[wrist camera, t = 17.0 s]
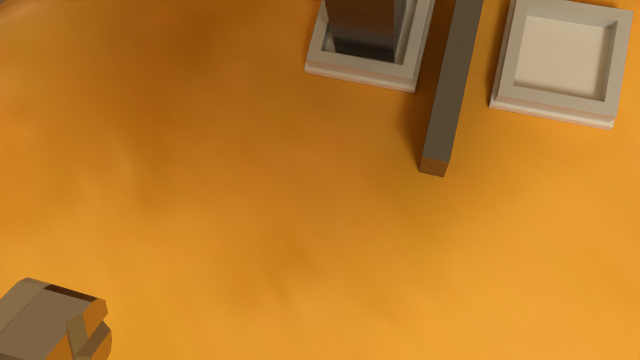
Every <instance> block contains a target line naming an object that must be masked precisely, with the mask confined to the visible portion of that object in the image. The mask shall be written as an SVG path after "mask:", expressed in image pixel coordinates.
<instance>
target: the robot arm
mask: <svg viewBox="0 0 640 360" xmlns="http://www.w3.org/2000/svg"><path fill="white" fill-rule="evenodd" d="M107 314H108V311H107V306H106V302H105V300H103V299H100V298H96V297H93V296H90V295H86V294H83V293H80V292H76V291H73V290H70V289H66V288H63V287H60V286H56V285H53V284H50V283H46V282H42V281H39V280H35V279H32V278H25V279H23V280H21V281H19V282H17V283H16V284H15V285H14V286H13V287H12V288H11V289H10V290H9V291H8V292H7V293H6V294H5V295H4V296H3V297H2V298H1V299H0V360H107V359H108V357H109V354H110V351H111V344H112V335H111V330H110V329H109V327H108V326H107V325H106V324H105V323H104V321H103V319H104V318H105V316H106V315H107Z"/></svg>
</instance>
